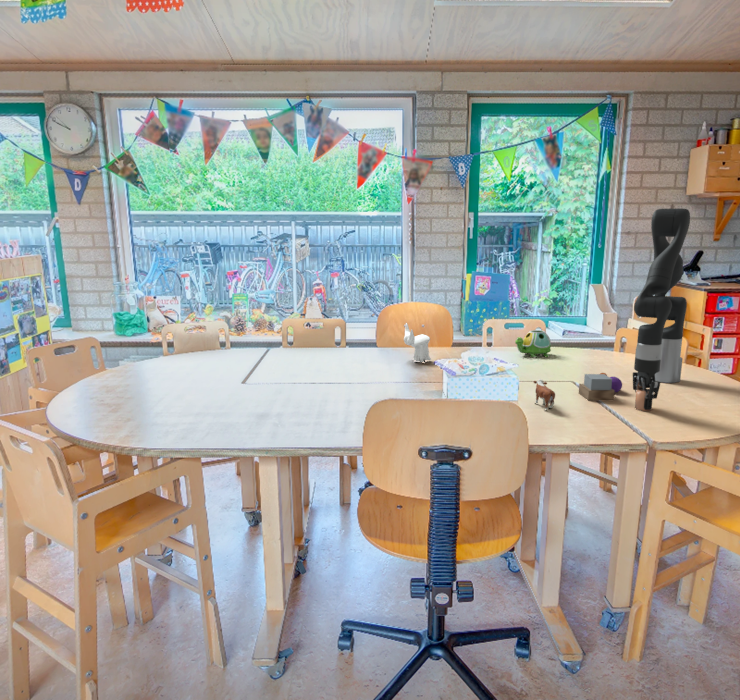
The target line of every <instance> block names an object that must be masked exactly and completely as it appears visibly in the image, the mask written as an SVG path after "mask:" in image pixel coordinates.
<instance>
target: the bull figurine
mask: <svg viewBox="0 0 740 700" xmlns="http://www.w3.org/2000/svg"><path fill="white" fill-rule="evenodd" d="M533 384H534V385H535V384H536V386H535V387H536V388H535V397H536V398H535V402H536V403H539V402H538V401H539V398H540V399H541V400H542V405H543V404H545V408H544V409H546V410H547V411H548V409H549V408H552V409H553V407H554V405H555V399H556V393H555V391H553V389H551V388H549V387H547V384H548V382H546V381H545V382H544V380H543V379H541V378H539V379H538V380H534V381H533Z"/></svg>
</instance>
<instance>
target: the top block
mask: <svg viewBox="0 0 740 700" xmlns="http://www.w3.org/2000/svg"><path fill="white" fill-rule="evenodd" d="M606 375H607V374H606ZM606 375H605V374H600V373H596V374H595V373H584V378H583V379H584V380H583V384H584V385H585V386H586V387H587V388H589V389H590V390H611V386H612V379H611V378H609V377H610V376H608V375H607V376H606Z"/></svg>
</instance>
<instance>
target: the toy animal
mask: <svg viewBox="0 0 740 700" xmlns="http://www.w3.org/2000/svg"><path fill="white" fill-rule="evenodd" d="M430 341H431V338H430V336H428V335H426V334H423V333H422V334H418V335H416V336H415V334H414V330H413V329H410V328H409V324H408V323H407V322H405V327H404V337H403V342H404V344H405V345H407V346H410V347H412V348H413V349H414V353H413V357H412V359H413V358H414V360H416V361H420V363H421V362H423V361H425V360H432V358H431V357H430V352H429V343H430Z"/></svg>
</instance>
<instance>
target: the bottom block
mask: <svg viewBox="0 0 740 700" xmlns="http://www.w3.org/2000/svg"><path fill="white" fill-rule="evenodd" d="M615 394H616V393H615V390H613V389H612V388H611V390H590V389H589V388H587V387H586V386H585V385H584V383H579V384H578V395H580V396H581V397H582V398H584V399H585V400H586V399H587V400H586V401H588V402H596V401H598V402H599V400H615Z"/></svg>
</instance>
